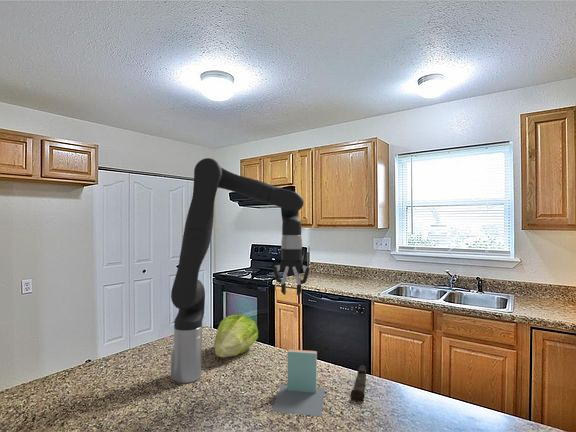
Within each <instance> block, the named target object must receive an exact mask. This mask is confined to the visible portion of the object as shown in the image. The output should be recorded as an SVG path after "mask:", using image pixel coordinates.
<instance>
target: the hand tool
mask: <svg viewBox="0 0 576 432" xmlns="http://www.w3.org/2000/svg"><path fill="white" fill-rule="evenodd" d="M366 368H367V367H366V366H365V365H364V364H363V365H360V366H359V367H358V369H357V376H356V379H355V382H354V386H353V389H352V390H351V392H350V400H353V401H357V402H364V399H365V391H366V390H365V388H366V383H367V369H366Z"/></svg>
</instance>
